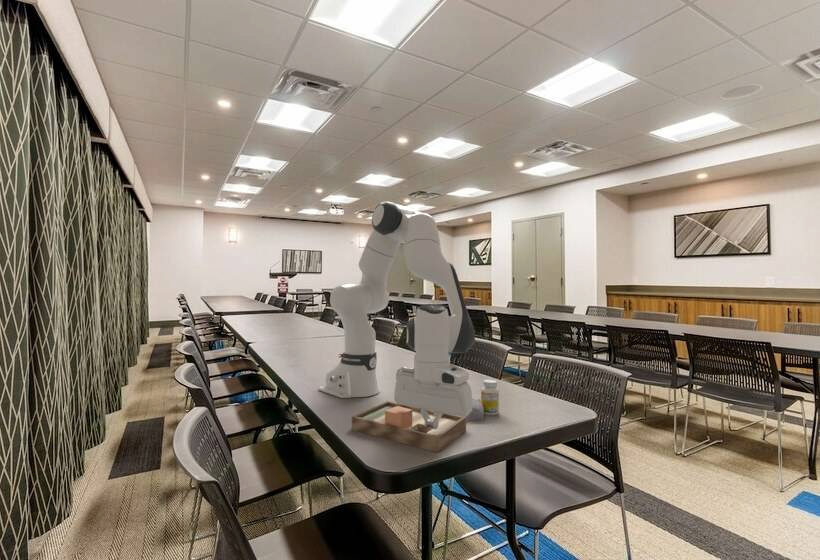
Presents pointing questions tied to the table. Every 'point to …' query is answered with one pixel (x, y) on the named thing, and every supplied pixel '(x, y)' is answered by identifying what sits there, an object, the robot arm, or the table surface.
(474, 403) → the stone block
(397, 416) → the block
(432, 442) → the board
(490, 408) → the supplement bottle
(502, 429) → the table surface
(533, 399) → the table surface
